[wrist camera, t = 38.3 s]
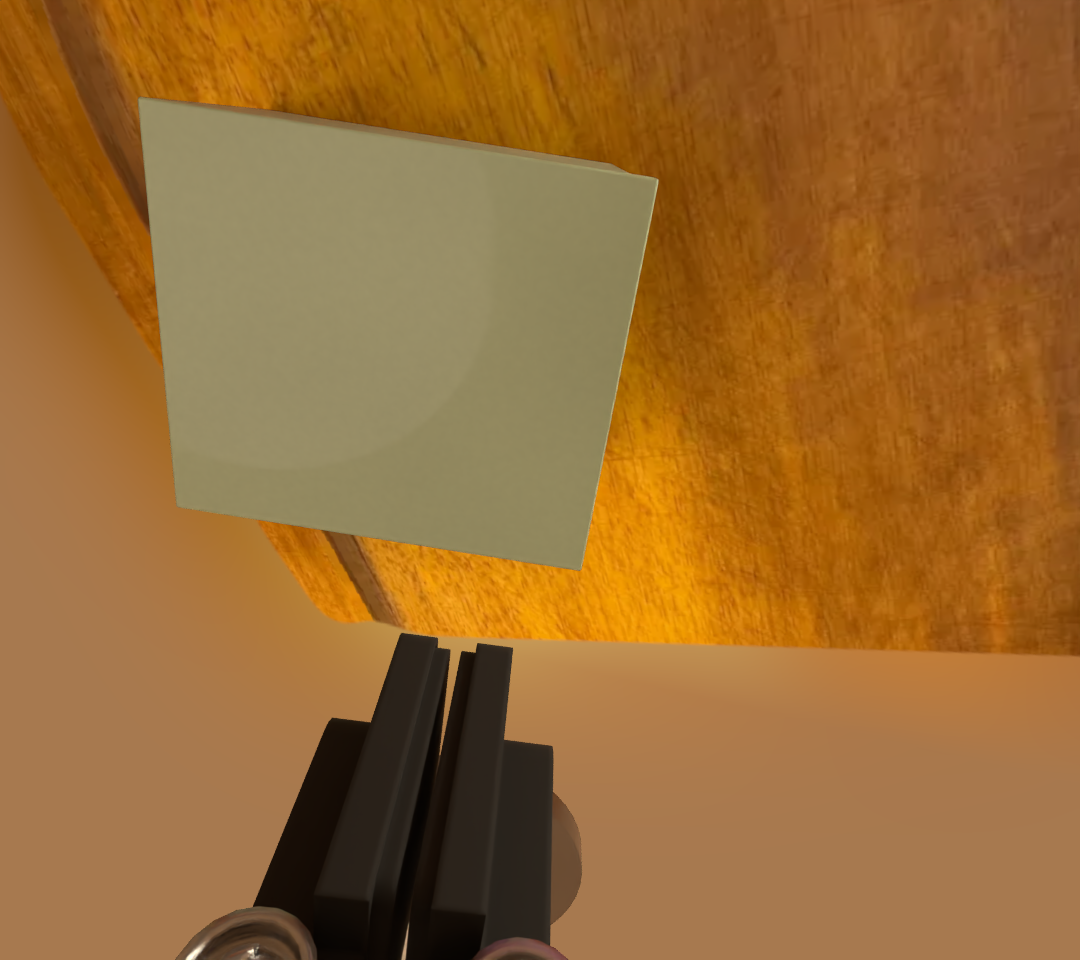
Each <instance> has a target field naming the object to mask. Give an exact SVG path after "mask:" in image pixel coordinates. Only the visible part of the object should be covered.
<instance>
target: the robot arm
mask: <svg viewBox="0 0 1080 960" xmlns="http://www.w3.org/2000/svg"><path fill="white" fill-rule="evenodd" d="M512 654H513V648H510V647H503V646H495V645H487V644H480V643H478V644H477V648H476V653H473V652H465V651H462V652H461V656H460V661H459V666H458V671H457V676H456V681H455V686H454V691H453V696H452V701H451V706H450V711H449V716H448V721H447V726H446V731H445V736H444V741H443V745H442V751H441V755H440V760H439V752H440V743H441V733H442V725H443V716H444V707H445V697H446V688H447V679H448V670H449V661H450V650H449V649H442V648H438V638H435V637H428V636H420V635H413V634H405V633H401V635H400V637H399V640H398V642H397V645H396V648H395V651H394V654H393V658H392V660H391V664H390V666H389V670H388V672H387V676H386V678H385V681H384V684H383V687H382V690H381V693H380V696H379V699H378V702H377V705H376V708H375V711H374V714H373V717H372V721H371V723H370V722H362V721H354V720H347V719H338V718H332V719H331V720H330V721H329V722H328V724H327V726H326V728H325V730H324V733H323V735H322V738H321V740H320V742H319V745H318V747H317V750H316V752H315V755H314V757H313V760H312V762H311V765H310V767H309V770H308V772H307V774H306V777H305V779H304V782H303V784H302V787H301V789H300V792H299V794H298V797H297V799H296V802H295V804H294V806H293V809H292V811H291V814H290V816H289V819H288V822H287V824H286V826H285V829H284V831H283V833H282V836H281V838H280V841H279V843H278V846H277V848H276V851H275V853H274V856H273V858H272V861H271V863H270V865H269V868H268V871H267V873H266V875H265V878H264V880H263V883H262V886H261V888H260V890H259V893H258V895H257V897H256V900H255V902H254V905H253V907H252V908H246V909H241V910H236V911H234V912H232V913H230V914H228V915H225V916H223V917H221V918H219V919H216V920H214V921H213V922H212V923H210V924H209V925H208V926H206V927H205V928H204V929H203V930H201V931H200V932H199V933H197V934H196V935H195V936H194V937H193V938H192V939H191V940H190V941H189V943H188V944H187V945H186V947H185V948H184V949H183V950H182V951H181V953H180V954H179V955H178V956H177V958H176V959H175V960H568V959H567V958H566V957H565V956H563V955H562V954H561V953H560V952H559V951H558V950H556V948H554V947H551V946H550V918H551V862H552V806H553V747H552V746H548V745H540V744H533V743H532V744H531V743H525V742H517V741H509V740H504V733H505V723H506V713H507V703H508V692H509V683H510V674H511V663H512ZM438 762H439V765H438Z"/></svg>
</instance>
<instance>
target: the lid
mask: <svg viewBox="0 0 1080 960" xmlns="http://www.w3.org/2000/svg"><path fill="white" fill-rule="evenodd" d="M138 107H139V117H140V128H141V138H142V149H143V159H144V170H145V180H146V191H147V201H148V212H149V222H150V233H151V243H152V254H153V264H154V275H155V285H156V296H157V307H158V317H159V328H160V338H161V349H162V359H163V370H164V380H165V391H166V401H167V411H168V421H169V433H170V443H171V454H172V464H173V474H174V485H175V495H176V505H177V507H181V508H186V509H193V510H199V511H205V512H212V513H218V514H224V515H231V516H237V517H244V518H250V519H256V520H262V521H269V522H275V523H281V524H288V525H294V526H300V527H307V528H313V529H319V530H325V531H332V532H338V533H344V534H351V535H357V536H363V537H370V538H376V539H382V540H389V541H395V542H401V543H408V544H414V545H420V546H427V547H433V548H439V549H446V550H452V551H458V552H464V553H471V554H477V555H483V556H490V557H496V558H502V559H509V560H515V561H521V562H528V563H534V564H540V565H547V566H553V567H559V568H566V569H572V570H578V571H580V570H581V569H582V564H583V559H584V554H585V549H586V544H587V539H588V534H589V529H590V524H591V519H592V513H593V508H594V503H595V498H596V493H597V488H598V483H599V478H600V473H601V468H602V463H603V458H604V453H605V448H606V443H607V438H608V433H609V428H610V423H611V418H612V413H613V408H614V403H615V398H616V393H617V388H618V383H619V378H620V373H621V368H622V363H623V358H624V353H625V348H626V343H627V338H628V333H629V328H630V322H631V317H632V312H633V307H634V302H635V297H636V292H637V287H638V282H639V277H640V272H641V267H642V262H643V257H644V252H645V247H646V242H647V237H648V232H649V227H650V222H651V217H652V212H653V207H654V202H655V197H656V192H657V187H658V179H657V178H655V177H649V176H642V175H636V174H630V173H623V172H617V171H611V170H604V169H598V168H592V167H585V166H579V165H573V164H566V163H560V162H554V161H547V160H541V159H535V158H528V157H522V156H516V155H509V154H503V153H497V152H491V151H484V150H478V149H472V148H465V147H459V146H453V145H446V144H440V143H434V142H427V141H421V140H415V139H408V138H402V137H396V136H389V135H383V134H377V133H370V132H364V131H358V130H351V129H345V128H339V127H332V126H326V125H320V124H313V123H307V122H301V121H294V120H288V119H282V118H275V117H269V116H263V115H256V114H250V113H244V112H237V111H231V110H225V109H218V108H212V107H206V106H199V105H193V104H187V103H180V102H174V101H168V100H161V99H155V98H147V97H139V98H138Z"/></svg>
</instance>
